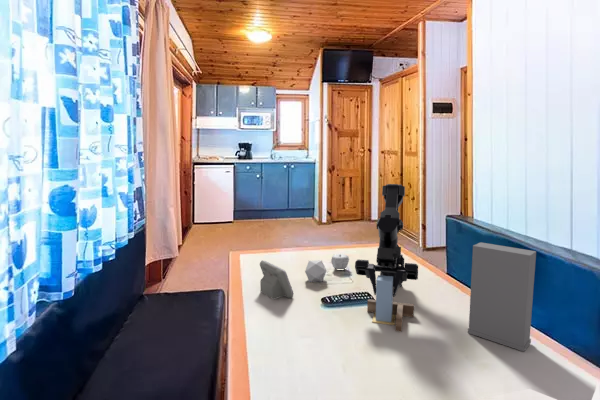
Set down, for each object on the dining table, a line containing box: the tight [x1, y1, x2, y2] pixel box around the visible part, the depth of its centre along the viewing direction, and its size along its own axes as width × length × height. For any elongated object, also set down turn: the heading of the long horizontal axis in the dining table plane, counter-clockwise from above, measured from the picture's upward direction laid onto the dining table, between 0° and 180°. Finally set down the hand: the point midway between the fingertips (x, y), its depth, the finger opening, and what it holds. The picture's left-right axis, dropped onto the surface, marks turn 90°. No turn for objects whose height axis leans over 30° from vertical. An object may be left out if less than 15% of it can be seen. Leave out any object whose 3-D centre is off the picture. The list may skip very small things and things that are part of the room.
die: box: [304, 260, 327, 283], centre depth 146 cm, size 8×9×10 cm
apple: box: [330, 253, 350, 270], centre depth 160 cm, size 8×8×7 cm
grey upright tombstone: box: [467, 241, 537, 352], centre depth 99 cm, size 14×6×25 cm, turn 44°
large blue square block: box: [375, 274, 394, 322], centre depth 112 cm, size 4×4×12 cm
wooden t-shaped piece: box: [366, 298, 415, 333], centre depth 112 cm, size 12×14×4 cm
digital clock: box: [259, 260, 294, 300], centre depth 134 cm, size 16×9×11 cm, turn 23°
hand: (384, 295), depth 111 cm, fingers open, 5 cm apart
